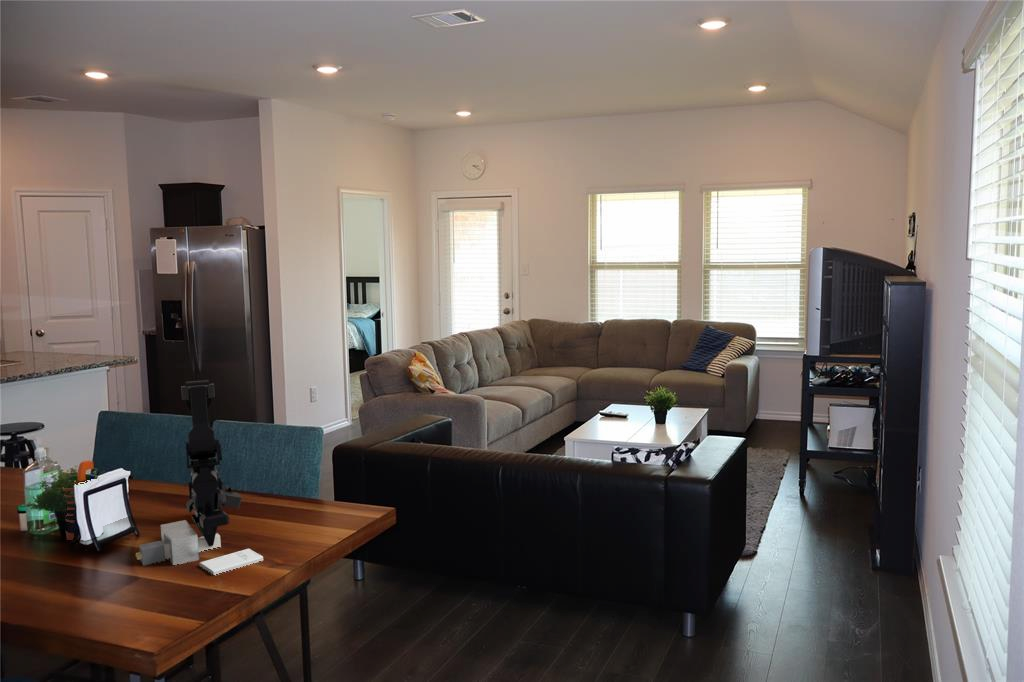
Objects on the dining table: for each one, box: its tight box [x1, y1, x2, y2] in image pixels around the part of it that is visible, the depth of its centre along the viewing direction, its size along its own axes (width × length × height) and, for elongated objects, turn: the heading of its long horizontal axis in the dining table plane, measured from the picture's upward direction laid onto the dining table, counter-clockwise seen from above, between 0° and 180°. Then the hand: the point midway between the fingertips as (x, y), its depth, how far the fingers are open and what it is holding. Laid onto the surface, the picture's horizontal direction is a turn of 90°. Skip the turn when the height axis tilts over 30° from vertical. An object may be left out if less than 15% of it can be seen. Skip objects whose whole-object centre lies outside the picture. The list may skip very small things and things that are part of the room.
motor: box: [61, 460, 99, 541], centre depth 217 cm, size 10×9×20 cm
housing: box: [160, 519, 200, 566], centre depth 202 cm, size 13×6×6 cm, turn 34°
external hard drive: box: [198, 548, 264, 576], centre depth 196 cm, size 2×8×12 cm
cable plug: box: [135, 532, 222, 567], centre depth 202 cm, size 20×4×4 cm, turn 124°
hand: (209, 544), depth 206 cm, fingers closed on cable plug, 2 cm apart
